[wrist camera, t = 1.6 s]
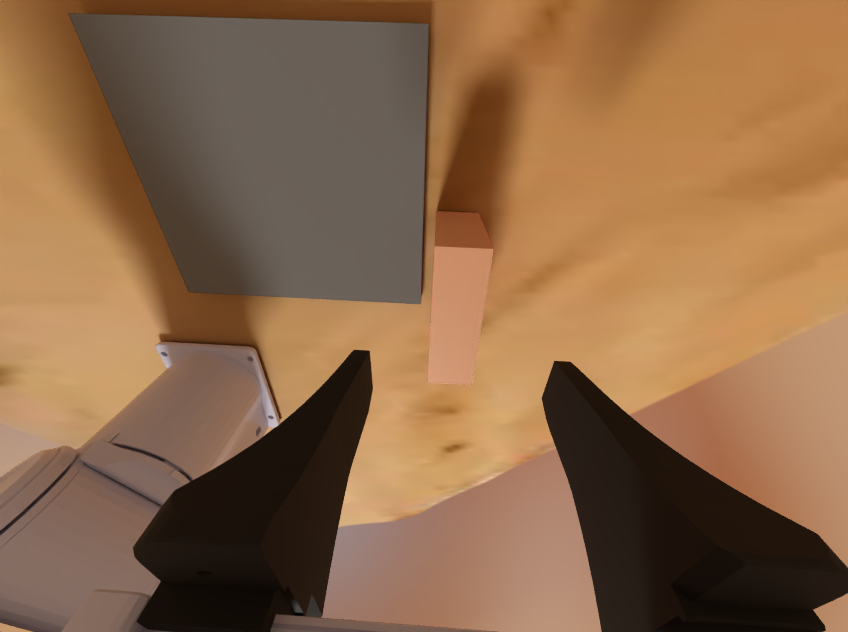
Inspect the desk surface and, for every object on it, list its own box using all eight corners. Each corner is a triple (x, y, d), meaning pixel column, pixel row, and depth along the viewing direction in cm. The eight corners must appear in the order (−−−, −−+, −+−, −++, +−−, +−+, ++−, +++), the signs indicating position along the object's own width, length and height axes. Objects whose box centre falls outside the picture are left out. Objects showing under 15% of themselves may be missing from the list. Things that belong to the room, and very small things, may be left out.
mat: (421, 299, 21) (420, 304, 21) (194, 288, 22) (188, 292, 21) (429, 27, 14) (428, 23, 13) (81, 16, 14) (68, 13, 14)
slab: (465, 325, 22) (471, 385, 17) (430, 323, 22) (427, 382, 17) (479, 212, 18) (493, 249, 13) (436, 211, 18) (434, 246, 13)
